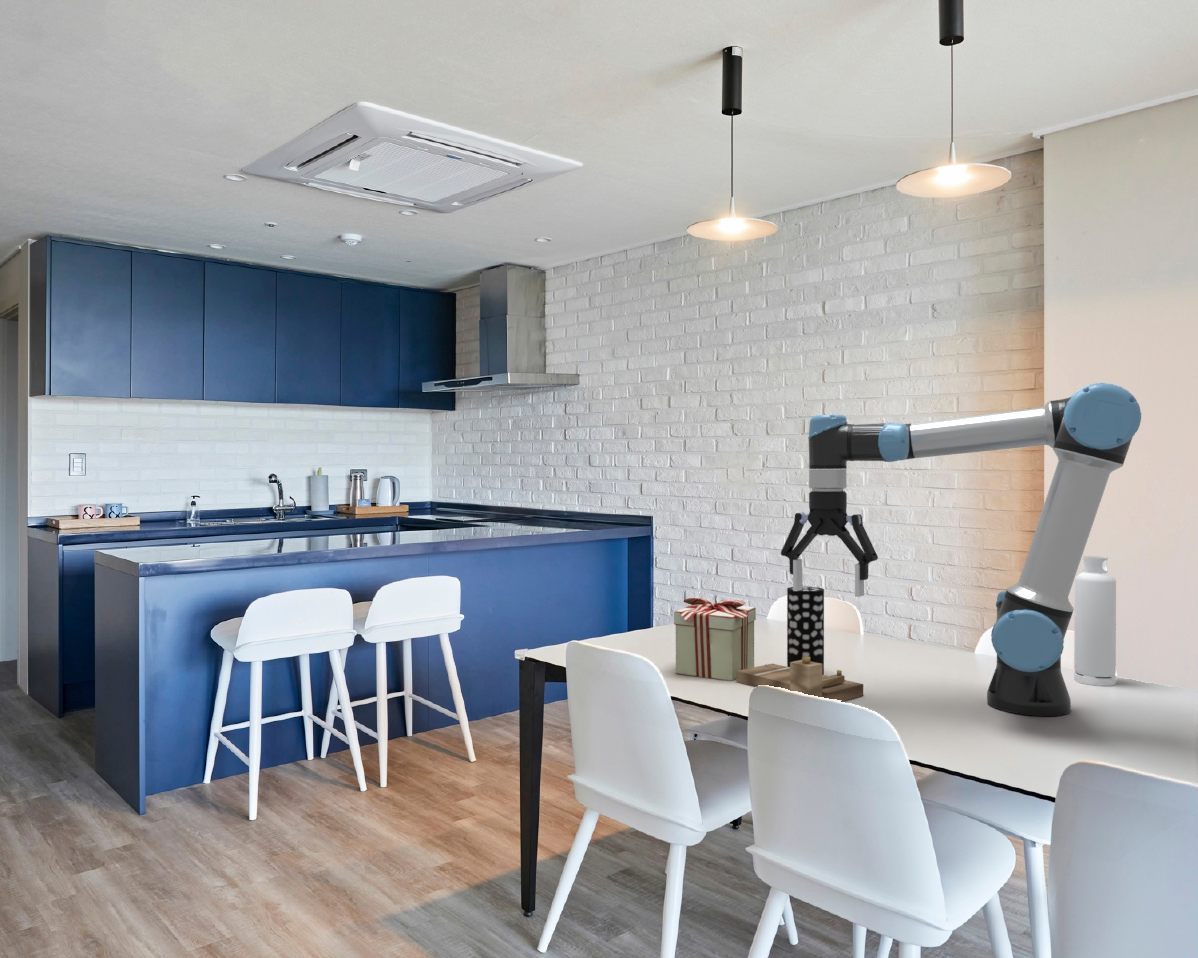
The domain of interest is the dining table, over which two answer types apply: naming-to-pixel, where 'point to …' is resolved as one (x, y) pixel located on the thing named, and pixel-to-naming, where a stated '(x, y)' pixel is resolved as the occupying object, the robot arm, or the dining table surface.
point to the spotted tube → (805, 625)
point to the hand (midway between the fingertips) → (827, 593)
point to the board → (781, 678)
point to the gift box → (714, 638)
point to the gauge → (811, 677)
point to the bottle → (1095, 624)
